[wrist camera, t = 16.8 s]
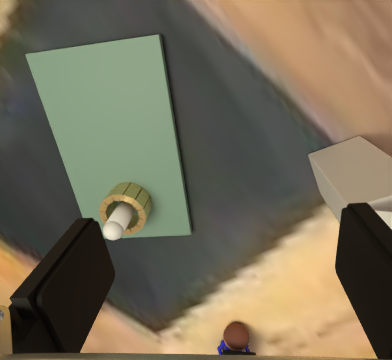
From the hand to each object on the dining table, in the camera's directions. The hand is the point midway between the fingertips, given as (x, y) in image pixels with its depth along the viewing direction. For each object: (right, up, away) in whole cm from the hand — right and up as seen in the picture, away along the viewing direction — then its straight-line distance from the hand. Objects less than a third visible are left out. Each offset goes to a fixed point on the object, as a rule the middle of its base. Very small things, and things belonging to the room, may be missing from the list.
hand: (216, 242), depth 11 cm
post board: (-12, +7, +32) cm, 35 cm away
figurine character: (+7, -33, +49) cm, 60 cm away
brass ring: (-11, -1, +34) cm, 36 cm away
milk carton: (+20, +5, +30) cm, 36 cm away
